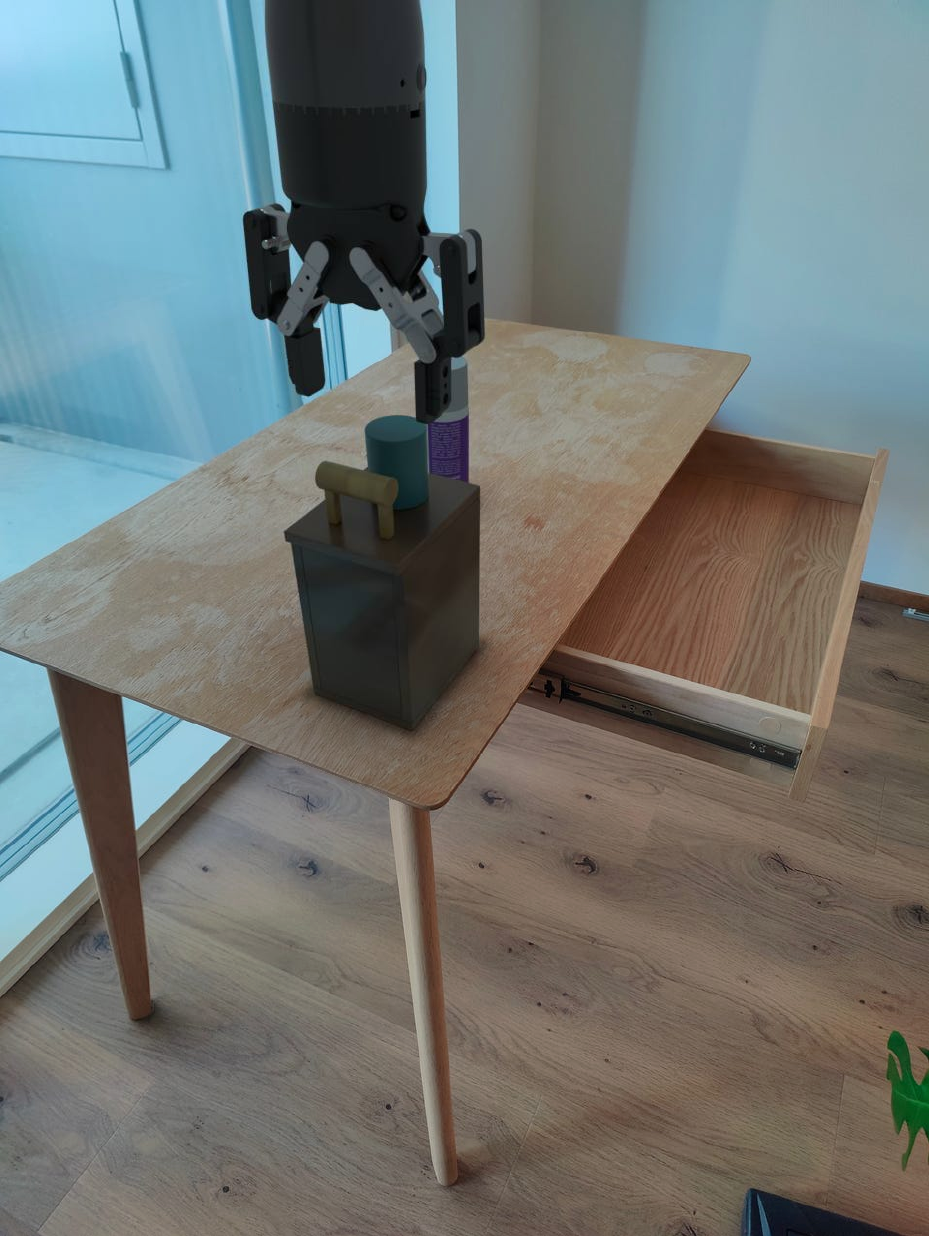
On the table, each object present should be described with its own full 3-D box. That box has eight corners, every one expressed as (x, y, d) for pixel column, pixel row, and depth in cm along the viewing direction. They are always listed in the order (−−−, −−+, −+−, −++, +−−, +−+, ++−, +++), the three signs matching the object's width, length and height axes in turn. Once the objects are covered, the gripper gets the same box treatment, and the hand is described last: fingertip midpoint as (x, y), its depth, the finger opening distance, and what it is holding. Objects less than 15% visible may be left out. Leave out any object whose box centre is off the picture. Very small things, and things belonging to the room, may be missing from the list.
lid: (398, 576, 51) (393, 504, 48) (285, 541, 54) (273, 472, 51) (480, 495, 59) (480, 429, 56) (376, 469, 62) (371, 405, 59)
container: (477, 501, 86) (478, 358, 76) (452, 522, 82) (450, 374, 73) (439, 490, 88) (436, 348, 78) (413, 509, 84) (407, 364, 75)
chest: (412, 731, 60) (402, 572, 51) (313, 693, 63) (289, 537, 54) (479, 647, 67) (480, 496, 59) (388, 617, 70) (376, 469, 62)
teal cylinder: (387, 516, 55) (382, 446, 52) (360, 491, 58) (353, 423, 55) (439, 499, 57) (437, 431, 54) (410, 475, 59) (407, 409, 56)
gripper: (184, 89, 41) (236, 405, 51) (439, 107, 36) (442, 454, 45) (278, 78, 46) (309, 365, 56) (512, 92, 41) (501, 405, 51)
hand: (369, 405), depth 51 cm, fingers open, 8 cm apart
